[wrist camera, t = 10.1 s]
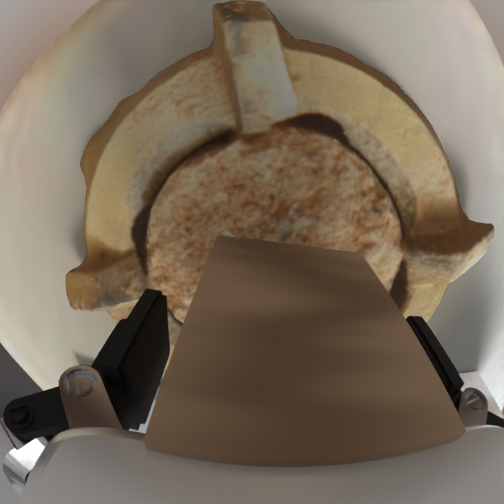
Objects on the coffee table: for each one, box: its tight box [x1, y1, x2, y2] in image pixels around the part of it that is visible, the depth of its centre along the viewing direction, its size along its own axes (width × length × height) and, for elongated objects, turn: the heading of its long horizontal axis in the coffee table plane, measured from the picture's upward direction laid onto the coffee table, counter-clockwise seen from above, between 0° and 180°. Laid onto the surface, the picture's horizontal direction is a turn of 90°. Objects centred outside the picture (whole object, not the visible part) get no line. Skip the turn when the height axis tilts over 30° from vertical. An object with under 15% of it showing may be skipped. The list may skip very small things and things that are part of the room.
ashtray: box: [66, 0, 494, 370], centre depth 13 cm, size 24×24×5 cm
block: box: [143, 235, 466, 467], centre depth 8 cm, size 6×6×8 cm
